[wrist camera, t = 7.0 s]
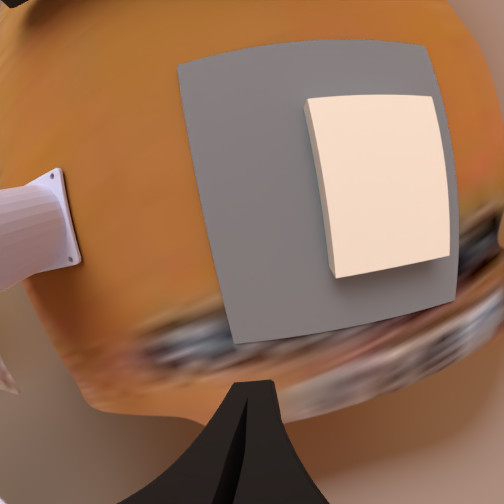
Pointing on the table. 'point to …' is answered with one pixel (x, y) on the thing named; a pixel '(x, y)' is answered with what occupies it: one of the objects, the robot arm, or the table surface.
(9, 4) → the magazine
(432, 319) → the table surface
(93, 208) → the table surface
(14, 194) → the robot arm
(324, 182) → the tile
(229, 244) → the mat
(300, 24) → the table surface
